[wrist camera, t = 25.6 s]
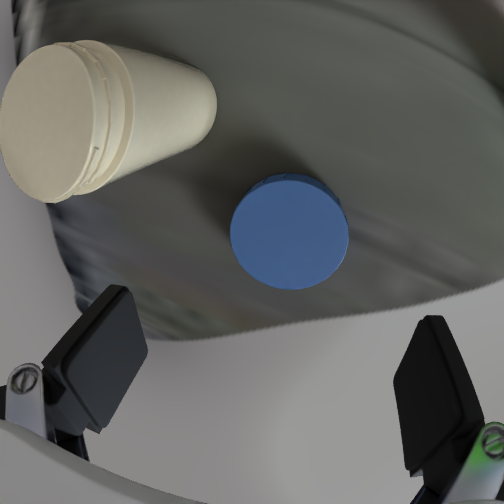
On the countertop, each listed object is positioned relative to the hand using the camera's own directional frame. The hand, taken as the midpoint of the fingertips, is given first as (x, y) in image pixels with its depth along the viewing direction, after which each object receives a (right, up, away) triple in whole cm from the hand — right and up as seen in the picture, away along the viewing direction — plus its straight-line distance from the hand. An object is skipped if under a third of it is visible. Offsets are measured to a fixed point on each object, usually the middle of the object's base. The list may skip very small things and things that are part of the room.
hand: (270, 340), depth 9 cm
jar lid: (+2, +4, +8) cm, 9 cm away
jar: (-5, +11, +7) cm, 14 cm away
